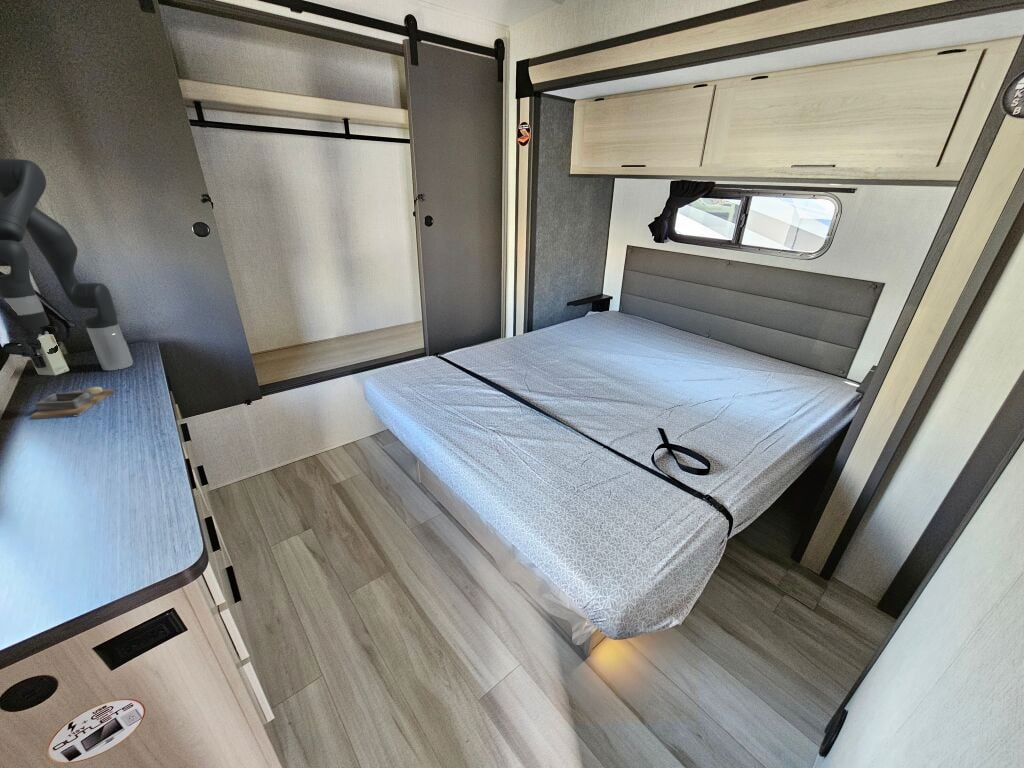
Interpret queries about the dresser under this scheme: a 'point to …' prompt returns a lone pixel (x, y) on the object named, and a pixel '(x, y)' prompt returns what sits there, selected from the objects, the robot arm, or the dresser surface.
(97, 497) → the dresser surface
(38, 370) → the skincare box
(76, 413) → the carrier plate
